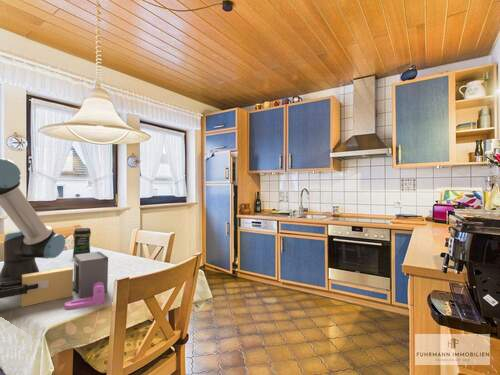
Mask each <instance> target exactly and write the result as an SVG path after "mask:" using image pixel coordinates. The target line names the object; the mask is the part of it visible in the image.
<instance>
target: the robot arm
mask: <svg viewBox="0 0 500 375" xmlns="http://www.w3.org/2000/svg"><path fill="white" fill-rule="evenodd" d="M21 174H22V173H21V170H20V168H19V166H18V165H17V164H16V163H15V162H14V161H12V160H10V159H7V158H3V157H2V158H1V157H0V207H1V208H2V209H3V211H4V212H5V213H6V215H7V216H8V217H9V218H10V219H11V221H12V222H13V224H14V225H15V226H16V227H17V229H18V230H19V231H11V232H8V233H6V234H5V236H4V241H3V265H2V267H1V270H0V299H5V298H9V297H15V296H18V295H21V294H27V291H31V290H36V289H41V288H47V287H49V280H44V281H38V282H33V283H27V285H22V275H24V274H30V273H37V272H40V269H39V268H38V267H39V266H38V265H37V262H36V259H37V258H38V259H54V258H55V259H56V258H58V256H60V255H61V254H62V252H63V251H64V250H65V247H66V246H65V245H66V238H65V236H64V235H63V234H60V233H56V232H55V231H54V229H53V228H52V227H51V226H49V225H45V223H44V221H42V219H41V217H40V216H39V214H38V213H37V212H36V211H35V209H34V207H33V206H32V204H30V202H29V200H28V199H27V198H26V196H25V195H24V193H23V192H22V191H21V189H20V185H21V181H20V180H21V178H22V177H21V176H20V175H21Z"/></svg>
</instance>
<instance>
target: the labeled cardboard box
mask: <svg viewBox="0 0 500 375" xmlns="http://www.w3.org/2000/svg"><path fill="white" fill-rule="evenodd" d="M44 280H49V287H47V288H41V289H36V290H31V291H27V294H20V295H21V297H20V298H21V299H20V300H21V301H20V304H21V307H27V306H31V305H35V304H40V303H45V302H50V301H55V300H58V299H64V298H68V297H73V292H74V291H73V281H74V268H73V267H72V266H71V267H70V266H69V267H64V268H57V269H51V270H44V271H39V272H37V273H30V274H24V275H22V285H27V283H33V282H38V281H44Z"/></svg>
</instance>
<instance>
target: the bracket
mask: <svg viewBox="0 0 500 375" xmlns="http://www.w3.org/2000/svg"><path fill="white" fill-rule="evenodd" d="M100 303H102V304H105V293H104V284H103V283H102V282H97V283H95V284H94V286H93V295H92V296H88V297H83V298H77V299H71V300H67V301H66V302H64V305H63V306H64V310H65V309H66V310H74V309H78V307H79V308H84V306H85V307H90V306H95V305H94V304H96V305H101V304H100ZM89 305H90V306H89Z"/></svg>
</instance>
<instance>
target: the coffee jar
mask: <svg viewBox="0 0 500 375" xmlns="http://www.w3.org/2000/svg"><path fill="white" fill-rule="evenodd" d="M91 235H92V231H91V228H90V227H79V228H75V229H74V231H73V237H74V244H73V250H72V251H73V252H72V257H73V258H74V255H77V254H84V253H91V246H90V244H91V243H90V238H91Z"/></svg>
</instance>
